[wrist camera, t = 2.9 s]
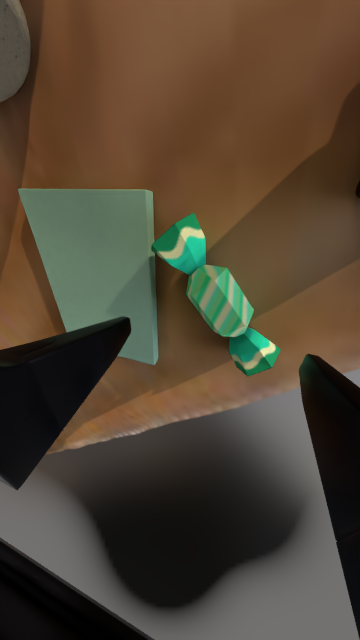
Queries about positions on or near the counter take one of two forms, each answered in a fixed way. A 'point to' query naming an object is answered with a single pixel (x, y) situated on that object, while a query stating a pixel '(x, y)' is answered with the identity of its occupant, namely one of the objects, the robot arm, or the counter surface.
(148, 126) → the counter surface
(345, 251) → the counter surface
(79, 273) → the cutting board
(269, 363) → the candy
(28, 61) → the ceramic mug
